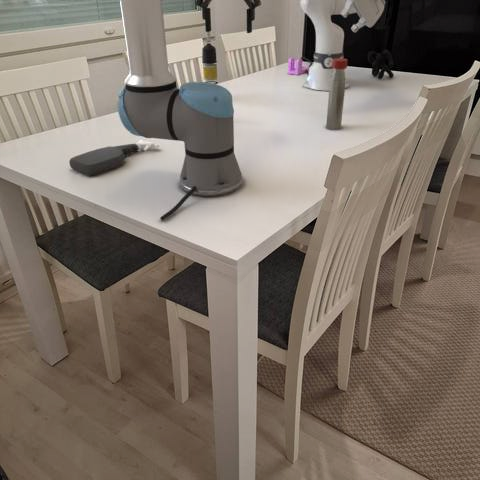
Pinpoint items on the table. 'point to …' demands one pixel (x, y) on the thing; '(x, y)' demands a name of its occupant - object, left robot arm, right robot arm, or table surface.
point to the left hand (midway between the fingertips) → (228, 32)
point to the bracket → (298, 68)
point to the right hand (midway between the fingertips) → (348, 23)
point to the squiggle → (380, 63)
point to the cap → (339, 63)
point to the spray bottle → (106, 157)
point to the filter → (209, 61)
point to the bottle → (336, 100)
